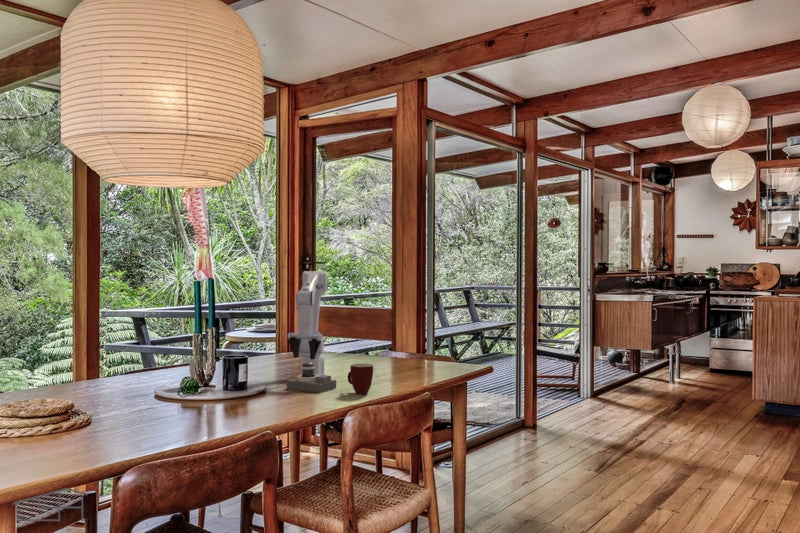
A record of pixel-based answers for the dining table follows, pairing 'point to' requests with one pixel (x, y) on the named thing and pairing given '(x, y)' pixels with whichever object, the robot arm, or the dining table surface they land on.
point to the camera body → (312, 383)
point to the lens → (308, 369)
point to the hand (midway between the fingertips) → (304, 358)
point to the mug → (361, 377)
